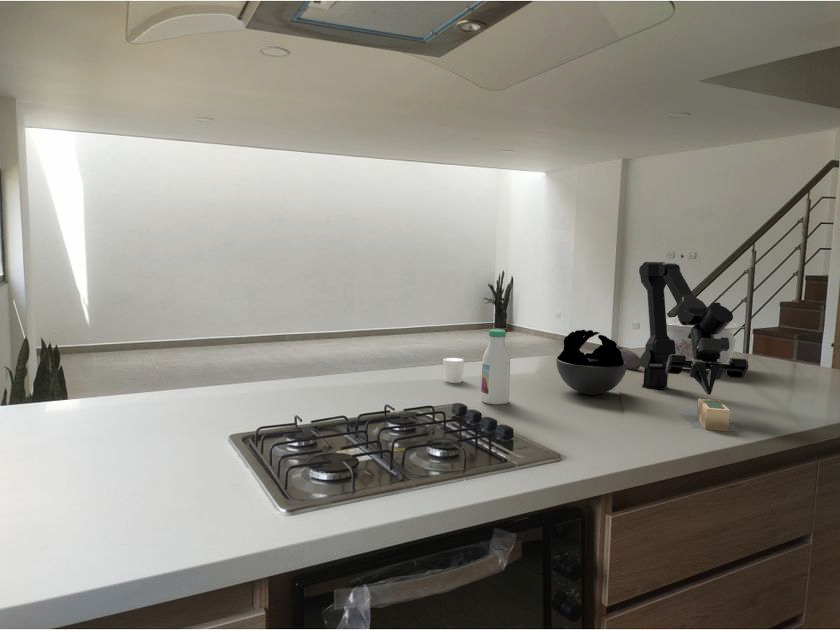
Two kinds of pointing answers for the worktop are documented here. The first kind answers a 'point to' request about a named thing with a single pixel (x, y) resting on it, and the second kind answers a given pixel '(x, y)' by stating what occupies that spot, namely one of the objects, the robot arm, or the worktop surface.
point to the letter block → (713, 414)
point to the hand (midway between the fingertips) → (709, 393)
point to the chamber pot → (685, 344)
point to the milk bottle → (496, 370)
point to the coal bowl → (590, 364)
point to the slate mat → (696, 423)
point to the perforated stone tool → (630, 359)
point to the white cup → (453, 369)
